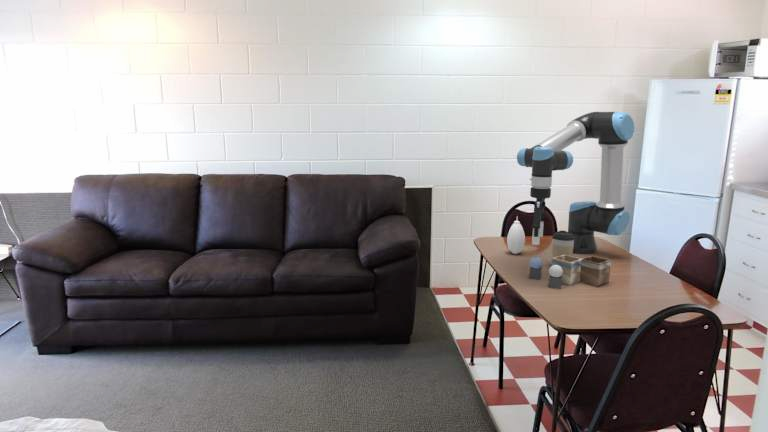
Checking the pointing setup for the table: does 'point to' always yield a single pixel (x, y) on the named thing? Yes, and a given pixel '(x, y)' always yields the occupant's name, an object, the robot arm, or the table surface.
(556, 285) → the stand grey
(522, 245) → the sauce bottle
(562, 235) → the coffee cup
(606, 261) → the brown open container
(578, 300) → the table surface
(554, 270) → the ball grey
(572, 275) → the open beige box
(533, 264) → the ball blue
